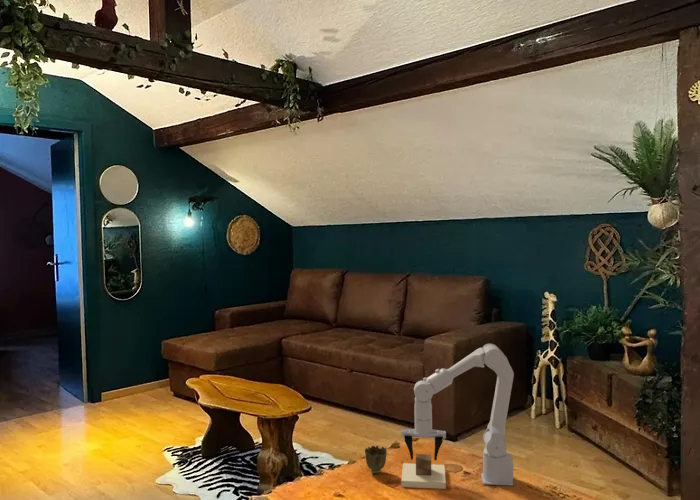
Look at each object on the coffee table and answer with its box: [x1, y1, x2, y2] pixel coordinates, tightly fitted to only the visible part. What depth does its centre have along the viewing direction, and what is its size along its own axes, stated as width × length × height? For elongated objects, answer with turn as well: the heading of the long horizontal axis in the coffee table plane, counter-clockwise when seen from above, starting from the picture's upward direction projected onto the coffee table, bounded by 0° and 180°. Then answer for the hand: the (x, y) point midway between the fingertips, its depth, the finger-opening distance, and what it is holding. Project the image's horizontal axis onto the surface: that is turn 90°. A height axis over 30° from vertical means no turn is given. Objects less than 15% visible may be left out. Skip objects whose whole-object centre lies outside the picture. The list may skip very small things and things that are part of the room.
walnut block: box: [415, 453, 432, 476], centre depth 200 cm, size 5×5×5 cm
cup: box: [364, 445, 388, 475], centre depth 204 cm, size 8×7×8 cm
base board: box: [400, 462, 447, 490], centre depth 200 cm, size 14×14×2 cm
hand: (423, 458), depth 199 cm, fingers open, 7 cm apart
